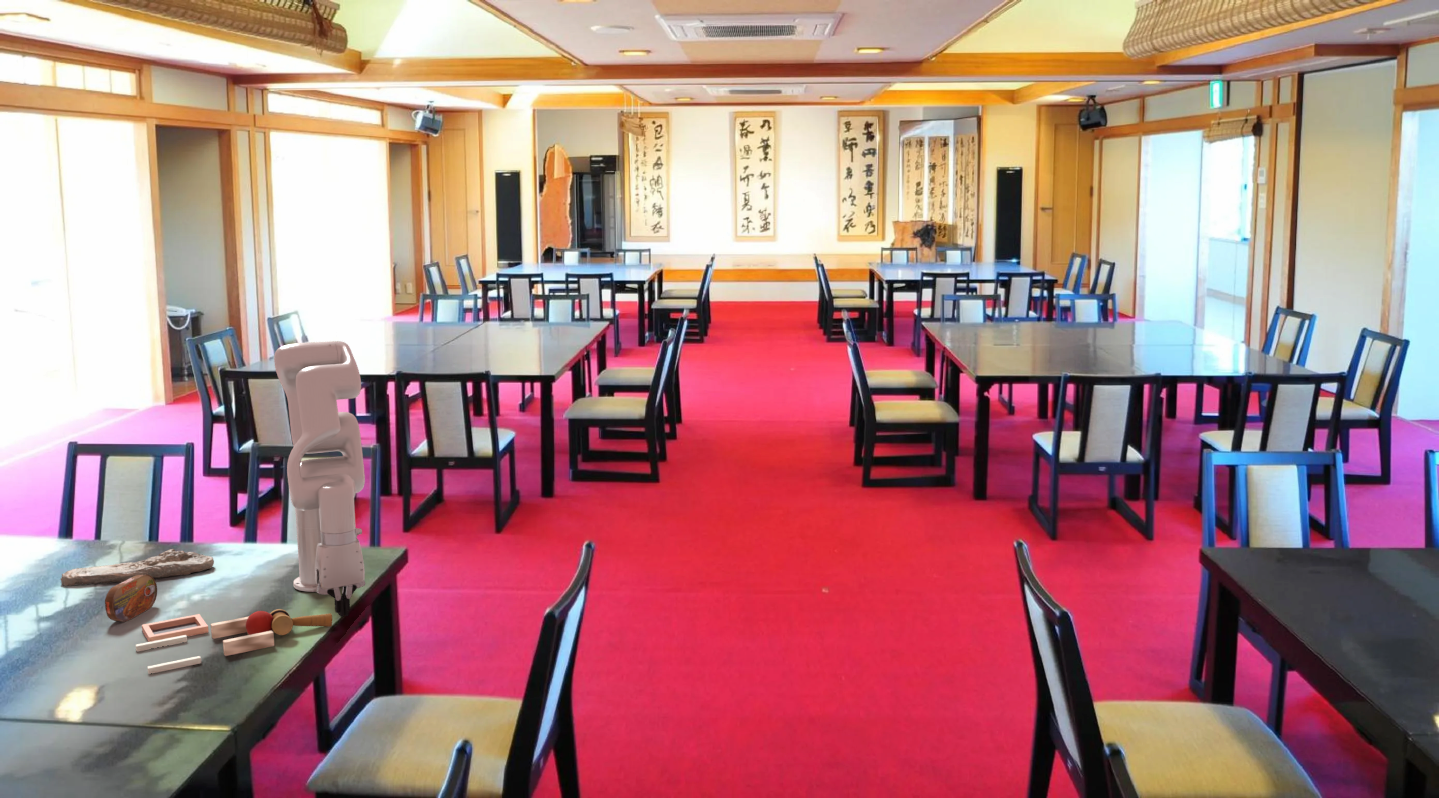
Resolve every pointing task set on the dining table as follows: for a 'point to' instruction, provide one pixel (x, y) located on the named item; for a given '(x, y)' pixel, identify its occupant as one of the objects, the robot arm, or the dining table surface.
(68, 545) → the dining table surface
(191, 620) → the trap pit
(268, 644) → the lane
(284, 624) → the kendama
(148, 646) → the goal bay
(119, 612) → the tin
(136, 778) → the dining table surface
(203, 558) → the elongated rock
